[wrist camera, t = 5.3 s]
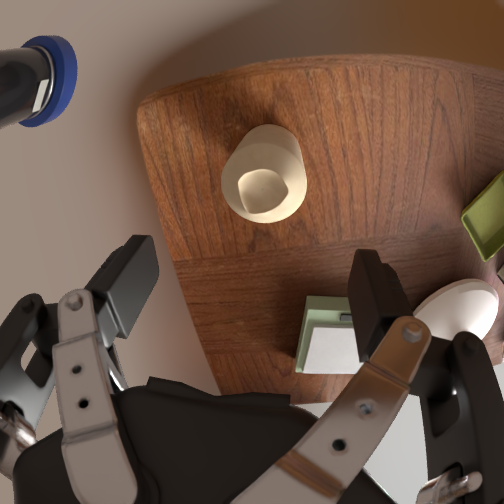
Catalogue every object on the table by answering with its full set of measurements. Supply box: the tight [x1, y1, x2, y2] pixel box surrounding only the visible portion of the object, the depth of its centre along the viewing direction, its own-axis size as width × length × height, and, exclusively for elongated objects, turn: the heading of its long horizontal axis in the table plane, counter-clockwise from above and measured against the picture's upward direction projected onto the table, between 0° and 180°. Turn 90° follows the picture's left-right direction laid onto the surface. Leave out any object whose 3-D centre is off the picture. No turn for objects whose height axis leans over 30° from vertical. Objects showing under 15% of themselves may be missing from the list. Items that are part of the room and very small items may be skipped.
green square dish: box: [460, 170, 504, 262], centre depth 24 cm, size 9×9×2 cm
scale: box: [295, 296, 363, 374], centre depth 36 cm, size 12×13×3 cm
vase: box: [413, 279, 498, 341], centre depth 31 cm, size 16×16×7 cm
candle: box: [221, 124, 307, 223], centre depth 21 cm, size 6×6×10 cm
